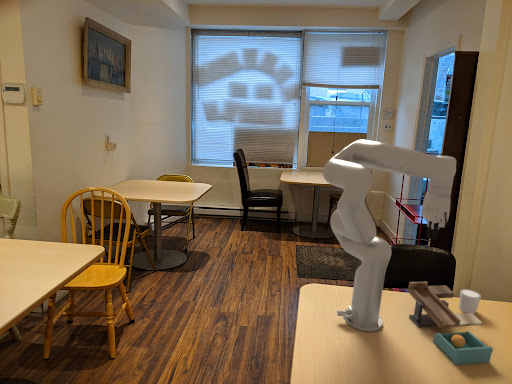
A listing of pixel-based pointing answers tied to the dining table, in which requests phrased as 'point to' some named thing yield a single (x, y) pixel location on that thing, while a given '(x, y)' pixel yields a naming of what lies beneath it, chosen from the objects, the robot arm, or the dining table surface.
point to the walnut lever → (440, 305)
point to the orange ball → (458, 341)
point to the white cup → (469, 301)
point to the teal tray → (466, 355)
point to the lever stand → (423, 316)
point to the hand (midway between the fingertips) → (431, 238)
